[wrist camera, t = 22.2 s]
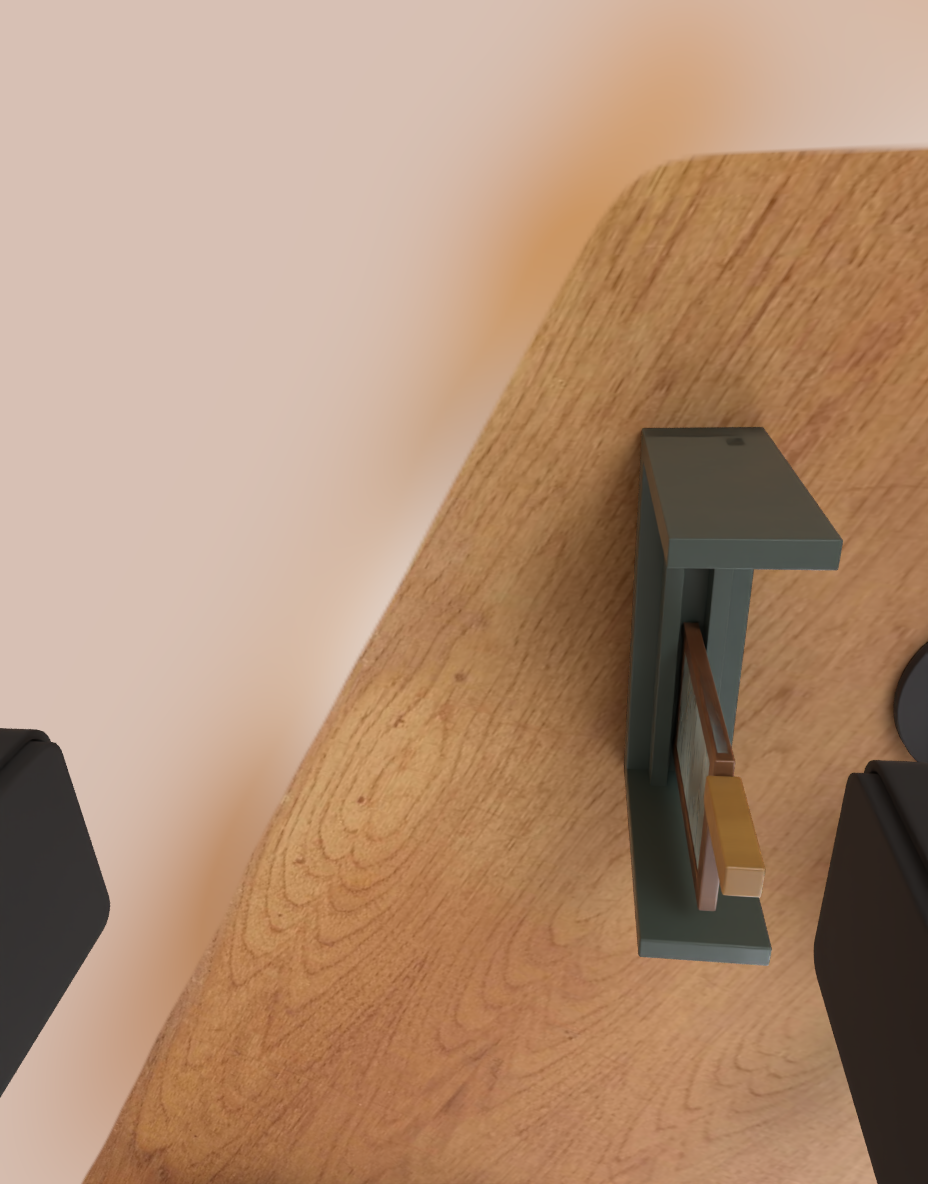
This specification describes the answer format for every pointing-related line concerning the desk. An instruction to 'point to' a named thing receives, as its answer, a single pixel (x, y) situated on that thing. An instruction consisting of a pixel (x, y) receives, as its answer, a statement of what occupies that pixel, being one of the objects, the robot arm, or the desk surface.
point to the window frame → (720, 605)
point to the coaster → (913, 706)
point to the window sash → (711, 786)
